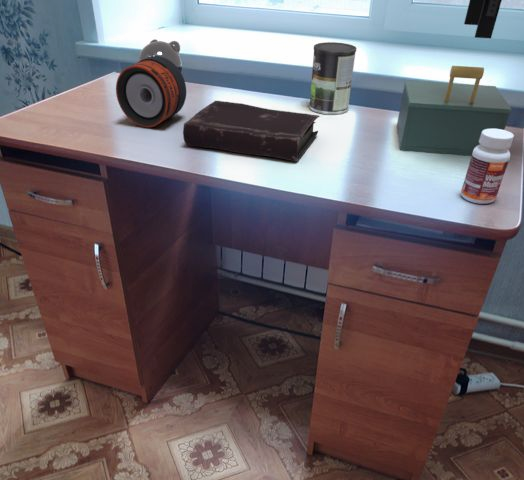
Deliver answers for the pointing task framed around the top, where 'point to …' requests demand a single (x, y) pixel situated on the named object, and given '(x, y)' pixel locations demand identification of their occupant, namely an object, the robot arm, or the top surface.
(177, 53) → the piggy bank
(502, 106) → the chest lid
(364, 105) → the top surface
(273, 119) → the diary
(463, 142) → the chest
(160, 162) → the top surface
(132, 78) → the oil filter
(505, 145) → the pill bottle
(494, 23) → the robot arm
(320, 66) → the coffee can
